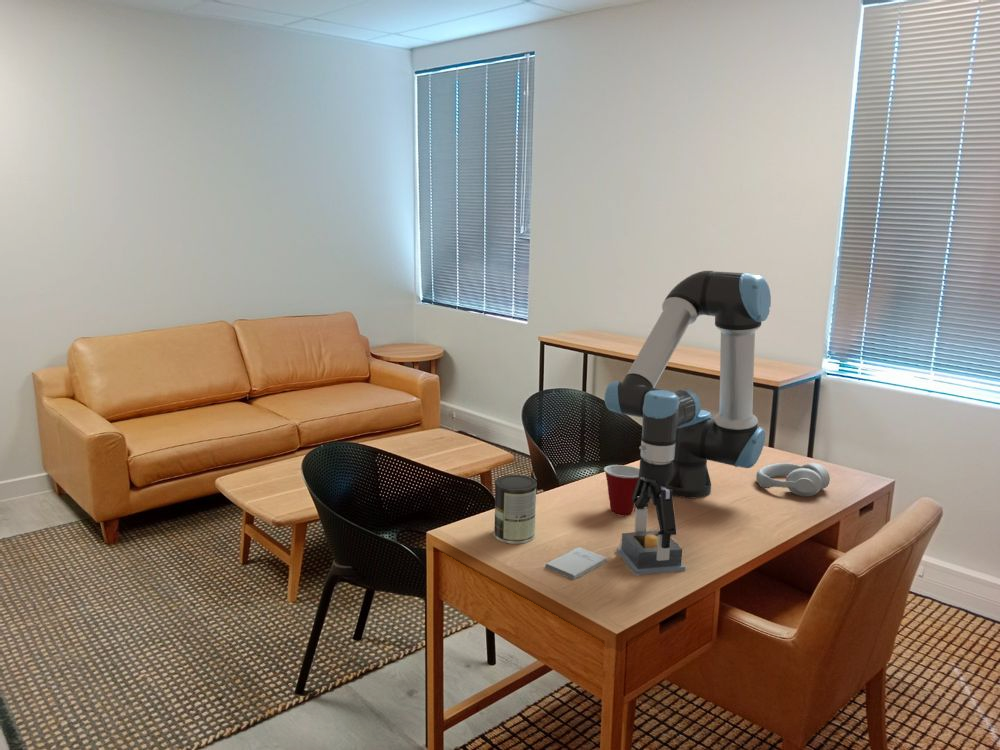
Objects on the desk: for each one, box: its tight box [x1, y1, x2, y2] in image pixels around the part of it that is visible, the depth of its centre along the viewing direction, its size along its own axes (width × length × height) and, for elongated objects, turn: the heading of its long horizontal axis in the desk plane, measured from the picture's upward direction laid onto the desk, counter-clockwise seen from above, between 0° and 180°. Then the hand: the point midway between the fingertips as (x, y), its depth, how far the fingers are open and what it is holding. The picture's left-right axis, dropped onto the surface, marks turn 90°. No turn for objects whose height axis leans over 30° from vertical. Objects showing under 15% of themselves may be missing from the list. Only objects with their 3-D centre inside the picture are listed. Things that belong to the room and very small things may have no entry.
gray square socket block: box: [620, 529, 683, 569], centre depth 181 cm, size 10×10×4 cm
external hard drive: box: [545, 546, 607, 581], centre depth 179 cm, size 2×8×12 cm
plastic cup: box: [603, 464, 640, 517], centre depth 209 cm, size 11×11×12 cm
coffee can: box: [493, 474, 538, 545], centre depth 192 cm, size 10×10×14 cm
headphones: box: [755, 462, 831, 497], centre depth 230 cm, size 18×8×20 cm
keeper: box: [616, 534, 686, 576], centre depth 181 cm, size 12×12×6 cm
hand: (651, 546), depth 181 cm, fingers open, 13 cm apart
